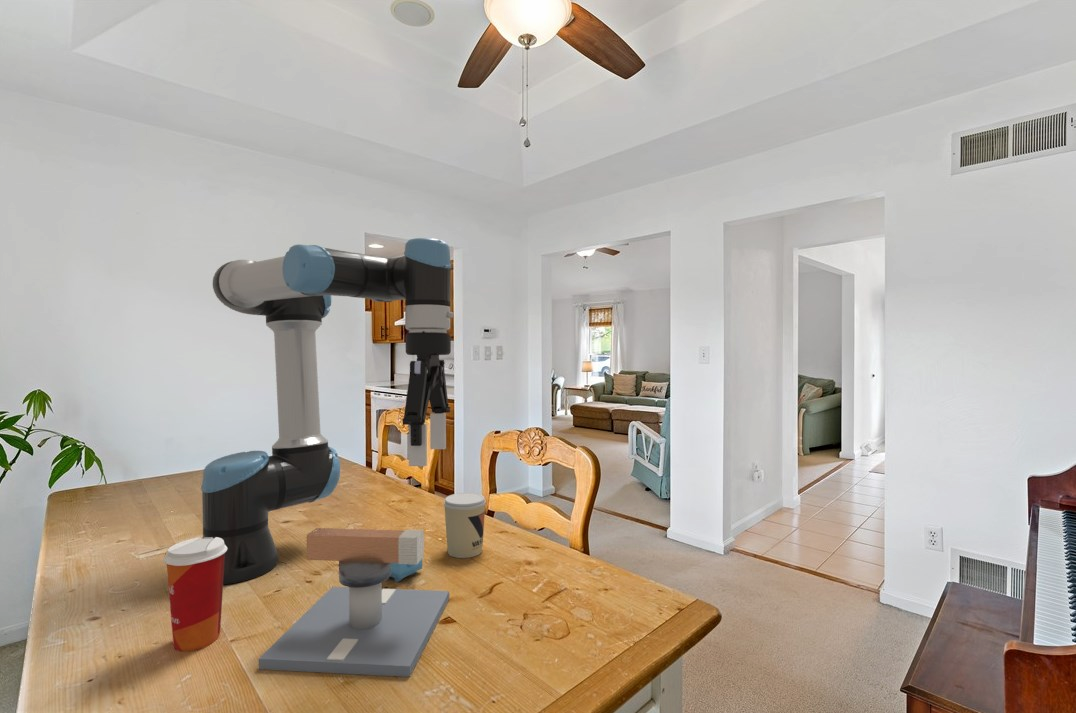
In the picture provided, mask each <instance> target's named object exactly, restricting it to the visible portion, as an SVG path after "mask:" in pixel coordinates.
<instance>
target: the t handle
mask: <svg viewBox="0 0 1076 713" xmlns="http://www.w3.org/2000/svg"><path fill="white" fill-rule="evenodd" d="M424 531H425V530H424V529H404V530H402V529H401V530H400V529H399V530H397V529H394V530H393V529H366V528H365V529H362V528H359V529H358V528H334V527H333V528H329V527H328V528H327V527H326V528H325V527H324V528H323V527H316V528H314V529H313V530H311V531H310V532H309V533H307V534H306V561H325V562H326V561H327V562H328V561H331V562H338V582H339V583H340V584H341V585H342V586H343V587H353V588H360V587H369V586H373V585H376V584H379V583H383V582H385V581H387V580H388V579H390V578H391V577H390V576H391V563H399V564H415V565H417V564H418V563H419V561H420V560H421V559H422V560H423V557H424V555H425V552H424V551H425V550H424V549H425V547H424V544H425V543H424V541H425V540H424V539H425V538H424V537H425V536H424V535H425V534H424V533H425V532H424Z"/></svg>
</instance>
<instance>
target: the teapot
mask: <svg viewBox="0 0 1076 713" xmlns="http://www.w3.org/2000/svg"><path fill="white" fill-rule="evenodd" d="M422 569H423V558H422V559H421V560H420V561H419V563H418V564H417V565H415V564H399V563H391V576H390V577H389V578H393V579H394V582H401V581H403V579H404V578H406V577H408V576H410V575H415V574H416V572H418V571H420V570H422Z"/></svg>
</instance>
